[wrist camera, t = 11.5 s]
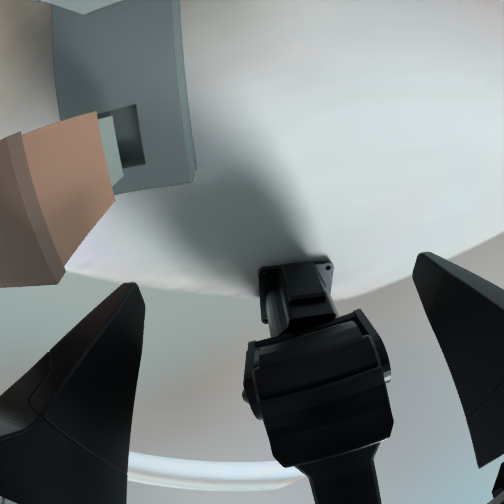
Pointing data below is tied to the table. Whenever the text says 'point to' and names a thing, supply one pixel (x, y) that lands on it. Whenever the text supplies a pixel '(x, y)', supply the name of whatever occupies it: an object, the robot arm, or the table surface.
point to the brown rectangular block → (53, 195)
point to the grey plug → (80, 4)
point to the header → (129, 85)
